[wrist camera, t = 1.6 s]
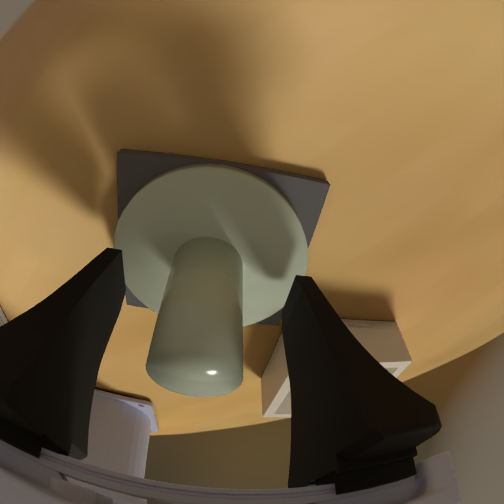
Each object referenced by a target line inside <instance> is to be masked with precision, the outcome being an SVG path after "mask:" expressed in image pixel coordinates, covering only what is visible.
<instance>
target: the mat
mask: <svg viewBox="0 0 504 504" xmlns="http://www.w3.org/2000/svg"><path fill="white" fill-rule="evenodd" d="M206 163H211V164H222V165H228V166H232V167H237V168H240V169H243V170H245V171H248V172H251V173H253V174H255V175H257V176H259V177H261V178H263V179H264V180H266V181H267V182H269V183H270V184H271V185H273V186H274V187H276V188H277V189H278V190H279V191H280V192H281V193H282V194H283V195H284V196H285V197H286V198H287V200H288V201H289V202H290V203H291V205H292V206H293V208H294V209H295V211H296V213H297V215H298V217H299V219H300V222H301V225H302V227H303V231H304V234H305V237H306V242H307V247H309V244H310V241H311V239H312V236H313V233H314V230H315V227H316V225H317V222H318V219H319V216H320V213H321V210H322V207H323V204H324V202H325V199H326V196H327V193H328V190H329V187H330V184H329V182H328V181H326V180H322V179H317V178H313V177H308V176H304V175H299V174H294V173H289V172H284V171H279V170H274V169H268V168H263V167H257V166H252V165H246V164H240V163H233V162H227V161H221V160H214V159H207V158H200V157H192V156H184V155H176V154H167V153H158V152H147V151H136V150H124V149H121V150H120V151H119V152H118V153H117V191H118V219H120V217H121V215H122V213H123V211H124V209H125V208H126V206H127V205H128V203H129V202H130V201H131V199H132V198H133V197H134V195H135V194H136V193H137V192H138V191H139V190H140V189H141V188H142V187H143V186H144V185H145V184H146V183H148V182H149V181H150V180H152V179H153V178H155V177H156V176H158V175H160V174H162V173H164V172H166V171H169V170H172V169H175V168H178V167H181V166H186V165H192V164H206ZM125 285H126V284H125ZM125 295H126V302H127V305H132V306H138V307H144V308H148V307H147V306H146V305H144V304H143V303H142V302H141V301H140V300H139V299H138V298H137V297H135V295H134V294H133V293H132V292H131V291H130V289H129V288H128V287H127V285H126V292H125ZM282 310H283V308H281V309H280V310H279V311H277V312H276V313H274V314H273V315H271V316H269V317H267V318H265V319H264V320H261V321H259V322H256V323H259V324H269V325H279V323H280V320H281V318H282Z"/></svg>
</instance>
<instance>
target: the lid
mask: <svg viewBox="0 0 504 504" xmlns="http://www.w3.org/2000/svg"><path fill="white" fill-rule="evenodd" d="M114 249H119V250H122V256H123V267H124V277H125V284H126V285H127V287H128V288H129V289H130V291H131V292H132V293H133V294H134V295H135V297H137V298H138V299H139V300H140V301H141V302H142V303H143V304H144V305H146V306H147V307H148V308H149V309H151V310H152V311H154V312H156V313H157V314H158V317H157V321H156V325H155V329H154V333H153V337H152V341H151V345H150V349H149V354H148V358H147V362H146V371H147V373H148V375H149V376H150V377H151V379H152V380H154V381H155V382H156V383H157V384H159V385H160V386H162V387H164V388H166V389H168V390H170V391H173V392H176V393H179V394H183V395H188V396H195V397H214V396H220V395H224V394H227V393H230V392H232V391H234V390H236V389H237V388H238V387H239V386H240V385H241V383H242V381H243V326H247V325H251V324H254V323H256V322H259V321H261V320H264V319H265V318H267V317H269V316H271V315H273V314H274V313H276V312H277V311H279V310H280V309H281V308H283V307H284V305H285V302H286V300H287V297H288V294H289V292H290V289H291V286H292V284H293V281H294V278H295V276H296V275H301V276H305V274H306V271H307V264H308V247H307V242H306V237H305V234H304V231H303V227H302V225H301V222H300V219H299V217H298V215H297V213H296V211H295V209H294V208H293V206H292V205H291V203H290V202H289V201H288V200H287V198H286V197H285V196H284V195H283V194H282V193H281V192H280V191H279V190H278V189H277V188H276V187H274V186H273V185H271V184H270V183H269V182H267V181H266V180H264V179H263V178H261V177H259V176H257V175H255V174H253V173H251V172H248V171H245V170H243V169H240V168H237V167H232V166H228V165H222V164H211V163H206V164H192V165H186V166H181V167H178V168H175V169H172V170H169V171H166V172H164V173H162V174H160V175H158V176H156V177H155V178H153V179H152V180H150V181H149V182H148V183H146V184H145V185H144V186H143V187H142V188H141V189H140V190H139V191H138V192H137V193H136V194H135V195H134V197H133V198H132V199H131V201H130V202H129V203H128V205H127V206H126V208H125V209H124V211H123V213H122V215H121V217H120V219H119V221H118V223H117V227H116V230H115V235H114Z"/></svg>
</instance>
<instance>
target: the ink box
mask: <svg viewBox="0 0 504 504" xmlns="http://www.w3.org/2000/svg"><path fill="white" fill-rule="evenodd" d="M6 323H8V321H7V319H6V317H5V315H4V313H3V311H2V309H1V307H0V326H2V325H4V324H6Z"/></svg>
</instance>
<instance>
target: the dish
mask: <svg viewBox="0 0 504 504" xmlns="http://www.w3.org/2000/svg"><path fill="white" fill-rule="evenodd" d="M341 320H342V321H343V323H344V324H345V325H346V327H347V328H348V329H349V330H350V331H351V333H352V334H353V335H354V336H355V338H356V339H357V340H358V341H359V342H360V343H361V345H362V346H363V347H364V348H365V349H366V350H367V351H368V352H369V353H370V354H371V355H372V356H373V357H374V358H375V359H376V360H377V361H378V362H379V363H380V364H381V365H382V366H383V367H384V368H385V369H387V370H388V371H389V372H390V373H391V374H392V375H393V376H395V377H396V378H397V377H398V376H399V374H400V373H401V372H402V371H403V370H404V369H405V368H406V367H407V366H408V365H409V364H410V363H411V362H412V359H411V357H410V354H409V352H408V349H407V347H406V344H405V342H404V339H403V337H402V334H401V332H400V330H399V327H398V325H397V323H396V322H387V321H368V320H351V319H341ZM261 393H262V415H263V417H291V392H290V382H289V375H288V369H287V362H286V356H285V349H284V342H283V335H282V333H281V335H280V337H279V340H278V342H277V344H276V347H275V349H274V351H273V353H272V356H271V358H270V360H269V362H268V364H267V367H266V369H265V371H264V373H263V375H262V378H261Z"/></svg>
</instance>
